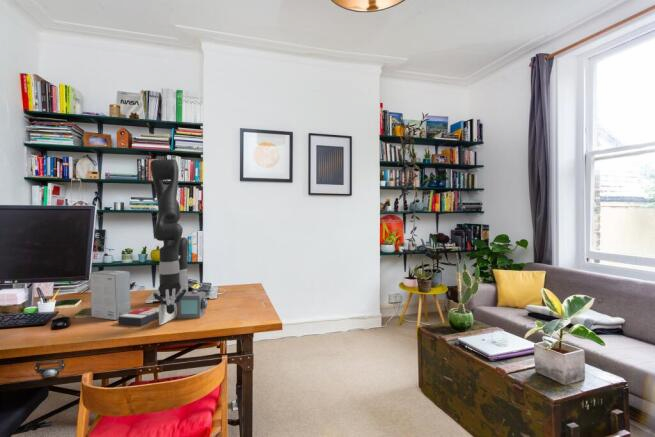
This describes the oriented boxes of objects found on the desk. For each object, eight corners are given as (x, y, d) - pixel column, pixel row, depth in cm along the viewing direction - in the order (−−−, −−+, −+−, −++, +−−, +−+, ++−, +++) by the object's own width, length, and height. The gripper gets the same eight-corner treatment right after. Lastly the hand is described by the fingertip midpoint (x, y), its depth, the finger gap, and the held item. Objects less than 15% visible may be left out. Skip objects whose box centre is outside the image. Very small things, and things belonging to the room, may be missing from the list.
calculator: (165, 307, 153) (140, 316, 138) (165, 317, 152) (140, 327, 138) (144, 306, 155) (117, 315, 140) (144, 315, 155) (117, 325, 140)
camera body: (173, 319, 147) (173, 294, 146) (181, 313, 155) (181, 290, 155) (203, 319, 147) (202, 294, 147) (209, 313, 155) (208, 289, 155)
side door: (171, 317, 146) (171, 299, 146) (174, 317, 146) (174, 299, 146) (157, 324, 137) (157, 305, 137) (161, 324, 137) (160, 305, 137)
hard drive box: (131, 315, 152) (130, 271, 152) (116, 320, 145) (114, 274, 144) (106, 311, 158) (105, 269, 157) (90, 317, 150) (89, 272, 150)
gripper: (152, 275, 132) (153, 318, 132) (188, 271, 139) (189, 313, 139) (150, 272, 138) (151, 313, 139) (185, 268, 145) (186, 308, 146)
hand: (170, 313), depth 139 cm, fingers closed
